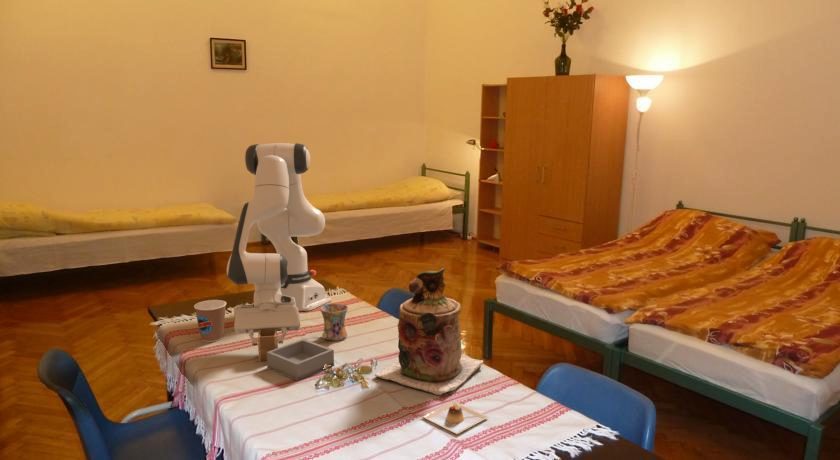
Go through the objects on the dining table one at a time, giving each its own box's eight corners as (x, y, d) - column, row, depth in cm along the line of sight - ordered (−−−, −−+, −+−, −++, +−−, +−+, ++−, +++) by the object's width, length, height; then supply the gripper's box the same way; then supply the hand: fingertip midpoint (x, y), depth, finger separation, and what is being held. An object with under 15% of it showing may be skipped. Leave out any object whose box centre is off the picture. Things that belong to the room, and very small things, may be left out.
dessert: (421, 420, 152) (421, 402, 151) (453, 404, 160) (453, 387, 160) (457, 438, 144) (457, 420, 143) (488, 420, 152) (489, 403, 151)
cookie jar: (416, 350, 195) (416, 254, 189) (485, 367, 183) (488, 264, 177) (371, 379, 174) (370, 271, 168) (446, 400, 162) (448, 284, 156)
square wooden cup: (260, 354, 191) (259, 330, 190) (278, 353, 192) (277, 329, 191) (258, 362, 186) (257, 337, 184) (277, 360, 187) (276, 336, 185)
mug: (353, 338, 205) (353, 308, 203) (330, 345, 199) (330, 314, 197) (334, 328, 214) (333, 300, 212) (311, 335, 208) (310, 305, 206)
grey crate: (303, 353, 192) (303, 338, 191) (334, 365, 183) (333, 349, 182) (267, 367, 181) (266, 352, 180) (297, 380, 173) (297, 364, 172)
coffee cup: (189, 340, 203) (187, 306, 200) (213, 330, 212) (210, 297, 209) (211, 346, 198) (209, 311, 196) (235, 336, 207) (233, 302, 205)
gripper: (233, 300, 191) (231, 341, 183) (299, 297, 195) (300, 337, 187) (235, 310, 196) (233, 350, 188) (299, 306, 200) (300, 345, 192)
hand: (267, 343), depth 188 cm, fingers open, 6 cm apart
